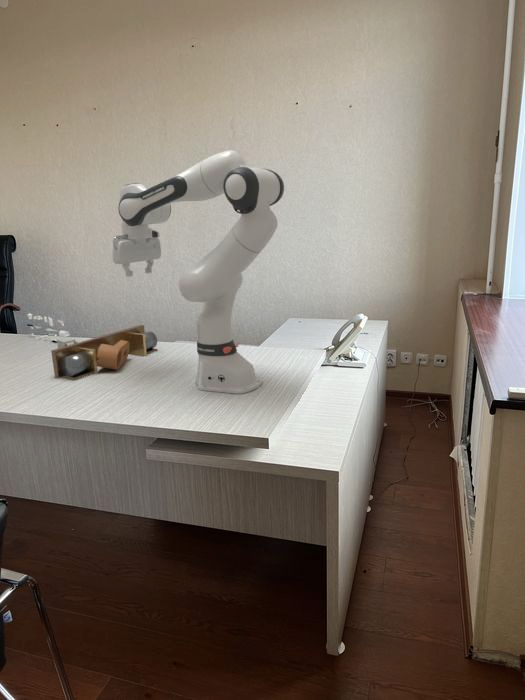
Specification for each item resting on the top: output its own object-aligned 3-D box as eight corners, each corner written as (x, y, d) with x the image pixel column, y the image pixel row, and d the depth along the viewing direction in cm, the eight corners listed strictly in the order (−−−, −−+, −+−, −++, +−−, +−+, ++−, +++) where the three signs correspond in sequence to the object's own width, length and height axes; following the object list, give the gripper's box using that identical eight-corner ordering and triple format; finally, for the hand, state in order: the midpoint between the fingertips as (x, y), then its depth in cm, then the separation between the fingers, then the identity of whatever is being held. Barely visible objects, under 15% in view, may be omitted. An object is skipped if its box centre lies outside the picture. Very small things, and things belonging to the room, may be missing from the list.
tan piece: (117, 350, 187) (97, 346, 187) (114, 372, 189) (95, 368, 188) (130, 339, 204) (112, 336, 204) (127, 359, 206) (110, 356, 206)
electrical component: (95, 358, 210) (93, 346, 208) (80, 361, 206) (79, 349, 204) (69, 347, 227) (68, 336, 225) (55, 350, 223) (54, 339, 221)
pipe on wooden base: (161, 350, 217) (159, 327, 215) (75, 382, 181) (71, 353, 178) (142, 348, 222) (140, 324, 220) (55, 377, 186) (51, 350, 184)
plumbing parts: (34, 336, 250) (30, 310, 247) (78, 346, 230) (74, 318, 226) (21, 339, 246) (17, 313, 242) (65, 349, 225) (61, 321, 222)
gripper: (120, 235, 170) (124, 279, 174) (162, 232, 187) (165, 271, 190) (106, 235, 173) (110, 278, 177) (149, 232, 190) (152, 270, 194)
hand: (139, 274), depth 184 cm, fingers open, 8 cm apart
